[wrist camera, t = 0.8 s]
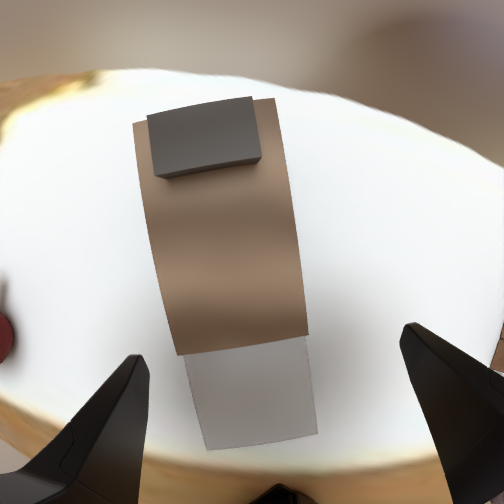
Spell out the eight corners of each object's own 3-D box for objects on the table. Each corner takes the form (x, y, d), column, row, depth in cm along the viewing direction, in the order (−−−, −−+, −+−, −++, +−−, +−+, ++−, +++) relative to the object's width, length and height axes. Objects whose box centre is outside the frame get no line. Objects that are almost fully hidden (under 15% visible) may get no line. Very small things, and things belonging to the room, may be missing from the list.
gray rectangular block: (304, 405, 24) (317, 433, 19) (214, 419, 24) (206, 450, 18) (263, 162, 26) (267, 133, 20) (172, 177, 26) (155, 153, 20)
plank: (303, 325, 19) (319, 354, 15) (181, 344, 19) (170, 377, 15) (271, 105, 17) (281, 81, 13) (140, 129, 17) (116, 112, 13)
